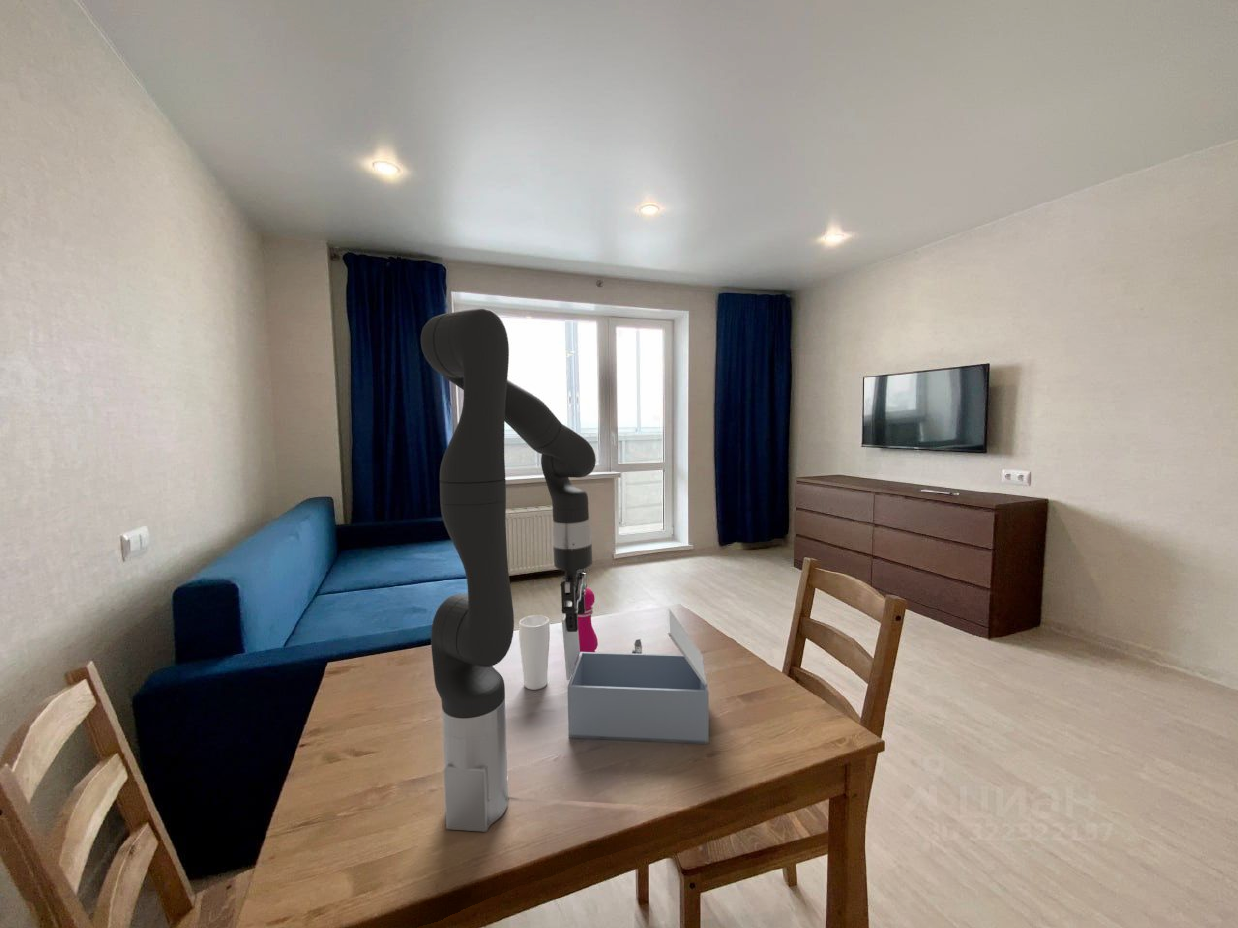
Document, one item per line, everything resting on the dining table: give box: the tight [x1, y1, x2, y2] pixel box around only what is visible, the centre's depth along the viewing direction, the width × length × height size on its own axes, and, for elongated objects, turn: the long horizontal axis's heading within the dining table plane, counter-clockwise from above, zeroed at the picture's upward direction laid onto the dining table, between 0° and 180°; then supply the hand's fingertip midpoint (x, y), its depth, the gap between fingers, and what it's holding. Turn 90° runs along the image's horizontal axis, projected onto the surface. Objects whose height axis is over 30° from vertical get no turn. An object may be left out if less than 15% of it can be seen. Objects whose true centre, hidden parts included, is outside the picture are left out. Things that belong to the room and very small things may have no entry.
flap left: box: [561, 602, 580, 681], centre depth 97 cm, size 12×12×1 cm
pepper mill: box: [569, 587, 599, 665], centre depth 120 cm, size 7×7×20 cm
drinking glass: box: [518, 614, 551, 691], centre depth 109 cm, size 7×7×15 cm
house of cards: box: [631, 638, 643, 654], centre depth 117 cm, size 9×9×8 cm
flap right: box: [666, 608, 708, 685], centre depth 95 cm, size 12×12×1 cm
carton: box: [567, 651, 710, 745], centre depth 97 cm, size 14×26×10 cm, turn 85°
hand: (576, 621), depth 97 cm, fingers open, 8 cm apart
